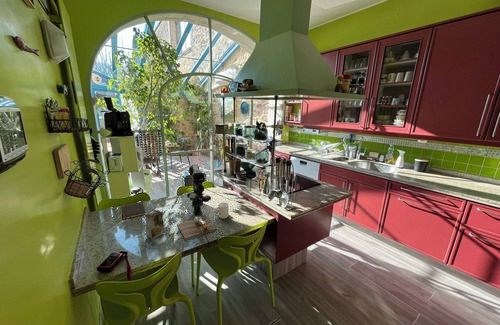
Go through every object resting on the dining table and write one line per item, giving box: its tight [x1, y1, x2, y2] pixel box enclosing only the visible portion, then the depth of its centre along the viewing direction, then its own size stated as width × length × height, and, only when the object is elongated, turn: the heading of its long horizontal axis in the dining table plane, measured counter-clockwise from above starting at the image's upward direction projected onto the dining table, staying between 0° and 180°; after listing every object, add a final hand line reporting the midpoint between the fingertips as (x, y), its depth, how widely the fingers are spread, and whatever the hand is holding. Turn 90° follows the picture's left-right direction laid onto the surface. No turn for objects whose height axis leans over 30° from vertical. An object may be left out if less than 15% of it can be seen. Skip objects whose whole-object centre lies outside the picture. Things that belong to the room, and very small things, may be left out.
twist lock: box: [193, 215, 207, 230], centre depth 149 cm, size 15×5×4 cm, turn 40°
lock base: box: [176, 216, 216, 241], centre depth 148 cm, size 20×22×2 cm
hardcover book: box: [121, 201, 146, 220], centre depth 171 cm, size 16×23×2 cm
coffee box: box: [144, 209, 165, 240], centre depth 138 cm, size 9×6×16 cm
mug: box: [213, 202, 230, 219], centre depth 164 cm, size 12×8×10 cm
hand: (199, 206), depth 155 cm, fingers closed
